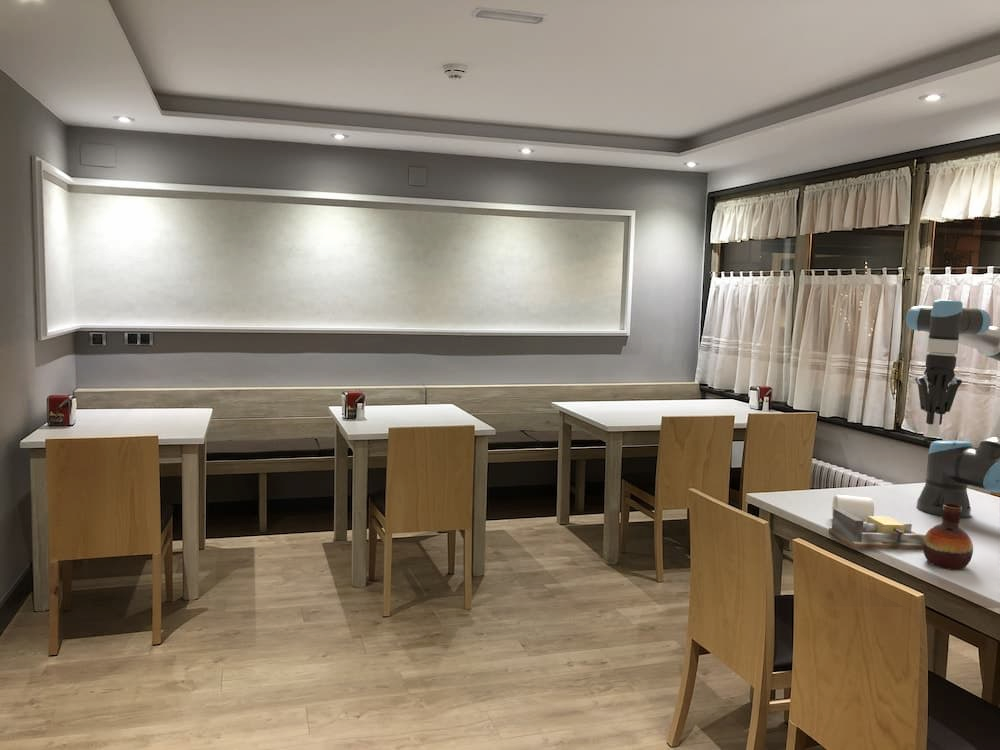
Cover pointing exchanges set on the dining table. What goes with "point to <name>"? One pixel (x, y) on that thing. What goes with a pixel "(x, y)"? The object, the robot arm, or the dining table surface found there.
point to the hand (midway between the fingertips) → (932, 435)
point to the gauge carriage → (883, 526)
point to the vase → (948, 541)
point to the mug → (854, 506)
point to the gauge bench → (871, 534)
